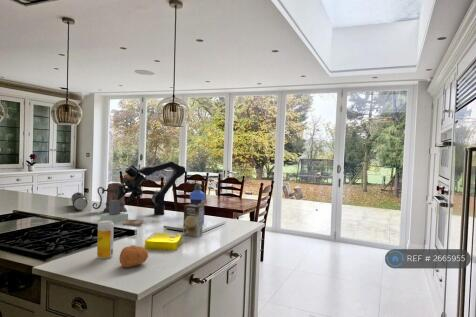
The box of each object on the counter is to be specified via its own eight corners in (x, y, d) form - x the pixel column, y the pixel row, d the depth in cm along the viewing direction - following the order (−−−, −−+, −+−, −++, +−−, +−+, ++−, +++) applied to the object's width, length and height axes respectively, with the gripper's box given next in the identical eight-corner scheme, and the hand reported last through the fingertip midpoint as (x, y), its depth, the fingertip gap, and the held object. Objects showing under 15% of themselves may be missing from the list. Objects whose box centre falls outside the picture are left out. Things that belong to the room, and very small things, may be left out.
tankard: (125, 208, 245) (125, 182, 245) (129, 212, 231) (130, 184, 230) (91, 210, 234) (91, 182, 233) (93, 214, 219) (94, 185, 219)
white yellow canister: (100, 254, 139) (100, 219, 138) (114, 254, 139) (115, 220, 139) (94, 259, 132) (95, 223, 132) (110, 259, 133) (111, 223, 133)
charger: (115, 218, 207) (116, 199, 207) (119, 219, 205) (120, 200, 205) (108, 219, 203) (109, 200, 203) (113, 220, 201) (113, 201, 201)
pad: (142, 222, 202) (143, 219, 202) (140, 225, 192) (140, 223, 192) (126, 222, 200) (126, 219, 200) (123, 226, 191) (123, 223, 191)
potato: (115, 264, 128) (115, 245, 128) (143, 259, 135) (143, 241, 135) (123, 271, 121) (123, 251, 121) (151, 265, 128) (152, 246, 128)
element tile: (153, 241, 163) (153, 231, 163) (182, 242, 162) (183, 232, 162) (143, 250, 148) (143, 240, 148) (176, 251, 148) (176, 241, 147)
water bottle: (186, 224, 201) (187, 183, 200) (193, 221, 209) (195, 182, 209) (199, 225, 197) (200, 184, 197) (206, 222, 206) (207, 183, 205)
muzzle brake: (84, 204, 256) (84, 191, 255) (87, 211, 231) (88, 196, 231) (70, 205, 251) (71, 192, 251) (72, 212, 227) (73, 197, 226)
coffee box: (182, 235, 175) (183, 205, 174) (187, 232, 181) (188, 203, 180) (197, 237, 172) (198, 206, 171) (202, 234, 178) (203, 205, 177)
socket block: (116, 217, 212) (116, 211, 212) (128, 220, 206) (128, 213, 206) (100, 220, 202) (100, 214, 202) (112, 223, 196) (112, 216, 196)
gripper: (120, 172, 218) (105, 190, 209) (140, 174, 208) (125, 193, 199) (129, 183, 225) (115, 201, 216) (148, 186, 215) (135, 204, 206)
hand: (122, 200), depth 209 cm, fingers open, 9 cm apart
